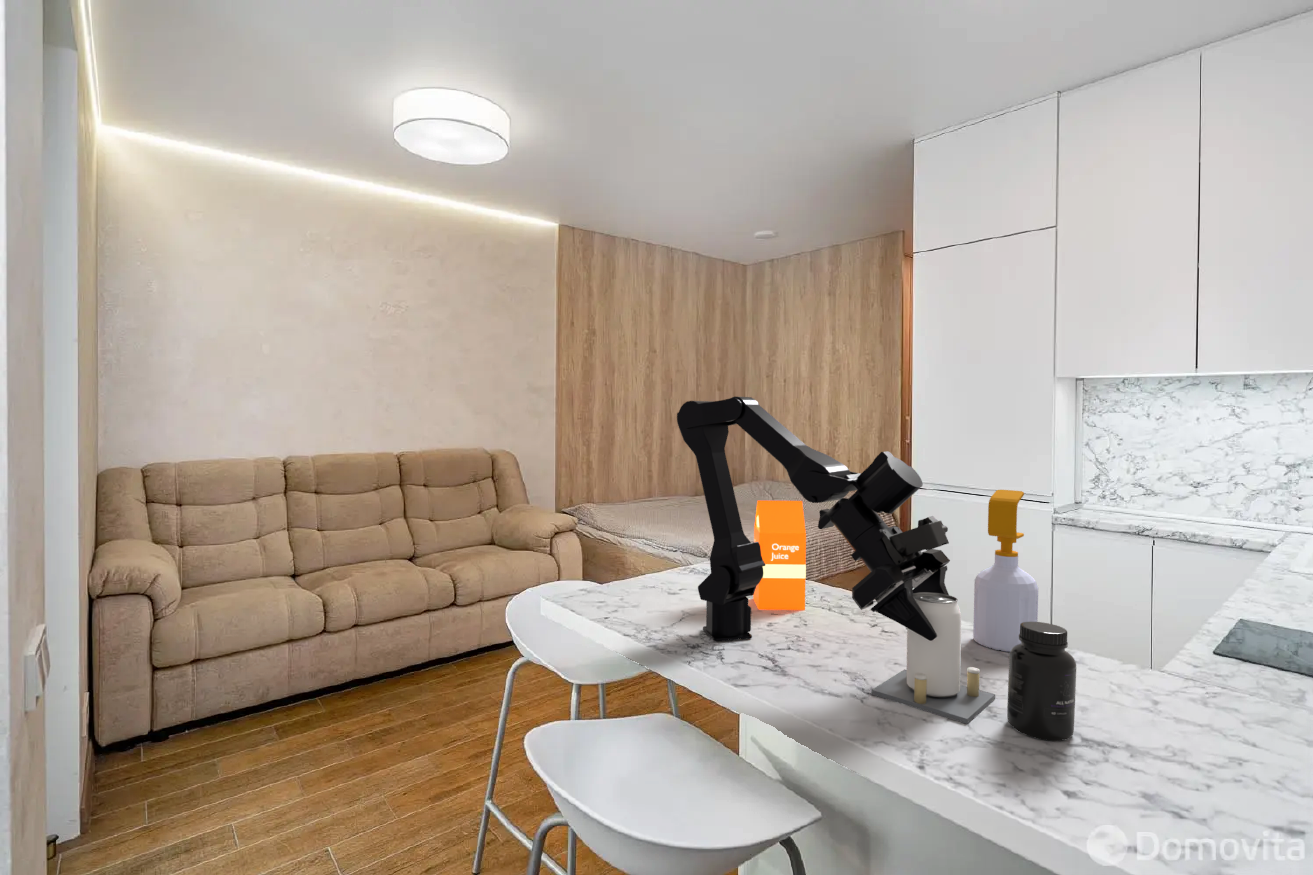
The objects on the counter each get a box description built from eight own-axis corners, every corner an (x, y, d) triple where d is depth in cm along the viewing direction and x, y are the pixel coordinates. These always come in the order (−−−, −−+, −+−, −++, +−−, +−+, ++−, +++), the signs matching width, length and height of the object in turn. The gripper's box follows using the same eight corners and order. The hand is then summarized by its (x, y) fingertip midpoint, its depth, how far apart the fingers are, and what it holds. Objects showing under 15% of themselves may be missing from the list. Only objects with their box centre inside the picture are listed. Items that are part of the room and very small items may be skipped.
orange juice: (805, 610, 126) (807, 503, 125) (758, 609, 126) (759, 503, 126) (797, 598, 134) (798, 498, 133) (752, 598, 134) (753, 498, 133)
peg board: (871, 694, 88) (872, 664, 88) (904, 673, 95) (904, 646, 95) (967, 723, 80) (968, 691, 80) (995, 698, 87) (995, 668, 87)
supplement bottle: (1074, 748, 74) (1077, 640, 74) (1004, 732, 78) (1007, 629, 77) (1074, 724, 80) (1077, 624, 80) (1009, 710, 84) (1012, 614, 83)
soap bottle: (1043, 643, 109) (1047, 491, 108) (1027, 657, 102) (1031, 495, 101) (983, 630, 115) (987, 486, 114) (965, 643, 108) (968, 490, 107)
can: (963, 701, 84) (964, 604, 84) (907, 694, 86) (909, 600, 86) (956, 683, 90) (957, 593, 90) (904, 677, 92) (906, 589, 92)
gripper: (876, 504, 83) (967, 611, 76) (936, 492, 97) (1018, 583, 89) (818, 557, 89) (898, 662, 82) (883, 539, 102) (956, 628, 95)
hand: (946, 631), depth 87 cm, fingers open, 8 cm apart
